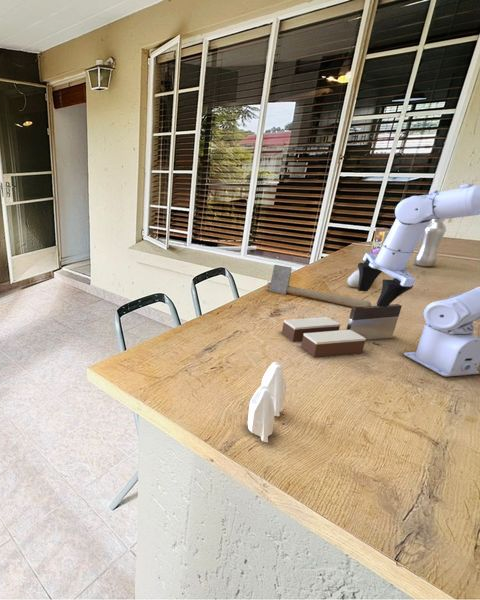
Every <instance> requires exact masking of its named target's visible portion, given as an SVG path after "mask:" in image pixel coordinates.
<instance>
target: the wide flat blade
mask: <svg viewBox="0 0 480 600" xmlns="http://www.w3.org/2000/svg"><path fill="white" fill-rule="evenodd" d="M402 307H403V305H402V304H399V303H390V304H389V305H388V306H387V307H378V306H377V305H371V306H365V307H351V309H350V314H349V317H348V321H347V324H346V325H347V326H346V329H345V330H352V331H354V332H355V333H357V334H359V335H361V336H363V337H364V338H366V340H365V341H368V340H369V341H370V340H380V339H381V340H382V339H392V338H393V336H394V333H395V330H396V327H397V323H398V320H399V317H400V314H401V311H402Z"/></svg>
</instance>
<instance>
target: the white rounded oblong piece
mask: <svg viewBox="0 0 480 600" xmlns="http://www.w3.org/2000/svg"><path fill="white" fill-rule="evenodd" d="M346 281H347V282H346V283H347V285H348V286H350V287H351V288H358V284H359V268H357V269H355V270H354V271H353V273H351V274H350V276H348V278H347V280H346Z"/></svg>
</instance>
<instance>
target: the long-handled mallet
mask: <svg viewBox="0 0 480 600" xmlns="http://www.w3.org/2000/svg"><path fill="white" fill-rule="evenodd" d="M291 274H292V266H287V265H286V266H285V265H279V264H273V270H272V275H271V280H270V281H269V282H267V283H266V288H268V292H272V293H276V294H281V295H287V294H288V293H290V294H294V295H299V296H302V297H307V298H310V299H311V298H312V299H316V300H319V301H324V302H329V303H333V304H338V305H343V306H347V307H351V308H352V307H365V306H372V303H371V301H369V300H365V299H360V298H354V297H350V296H344V295H339V294H333V293H328V292H323V291H318V290H313V289H307V288H302V287H296V286H291V285H290V281H291Z"/></svg>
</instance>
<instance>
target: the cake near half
mask: <svg viewBox="0 0 480 600" xmlns="http://www.w3.org/2000/svg"><path fill="white" fill-rule="evenodd" d="M303 335H304V336H303V340H302V341H301V346H300V348H301V349H302V350H304V351H305V352H306V353H308V354H309V355H311V356H312V357H313V358H319V357H320V358H321V357H331V356H342V355H353V354H354V355H355V354H356V355H357V354H363V351H364V347H365V344H366V341H367V340H366V338H364V337H363V336H361V335H359V334H357V333H355V332H354V331H352V330H346V329H341V330H340V329H339V331H326V332H314V333H304V334H303Z"/></svg>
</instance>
